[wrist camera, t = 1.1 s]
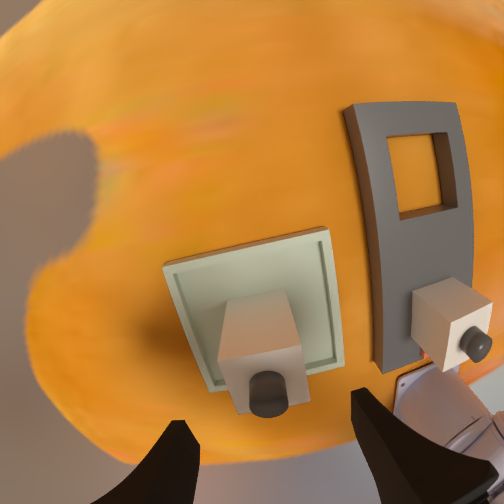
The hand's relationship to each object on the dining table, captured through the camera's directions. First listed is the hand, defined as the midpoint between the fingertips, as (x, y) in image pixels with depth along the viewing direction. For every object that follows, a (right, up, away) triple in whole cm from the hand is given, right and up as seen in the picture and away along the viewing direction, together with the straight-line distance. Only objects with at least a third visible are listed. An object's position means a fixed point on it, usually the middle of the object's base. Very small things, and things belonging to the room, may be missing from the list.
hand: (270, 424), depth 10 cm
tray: (0, +3, +10) cm, 10 cm away
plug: (0, +2, +10) cm, 10 cm away
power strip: (+12, +8, +8) cm, 17 cm away
